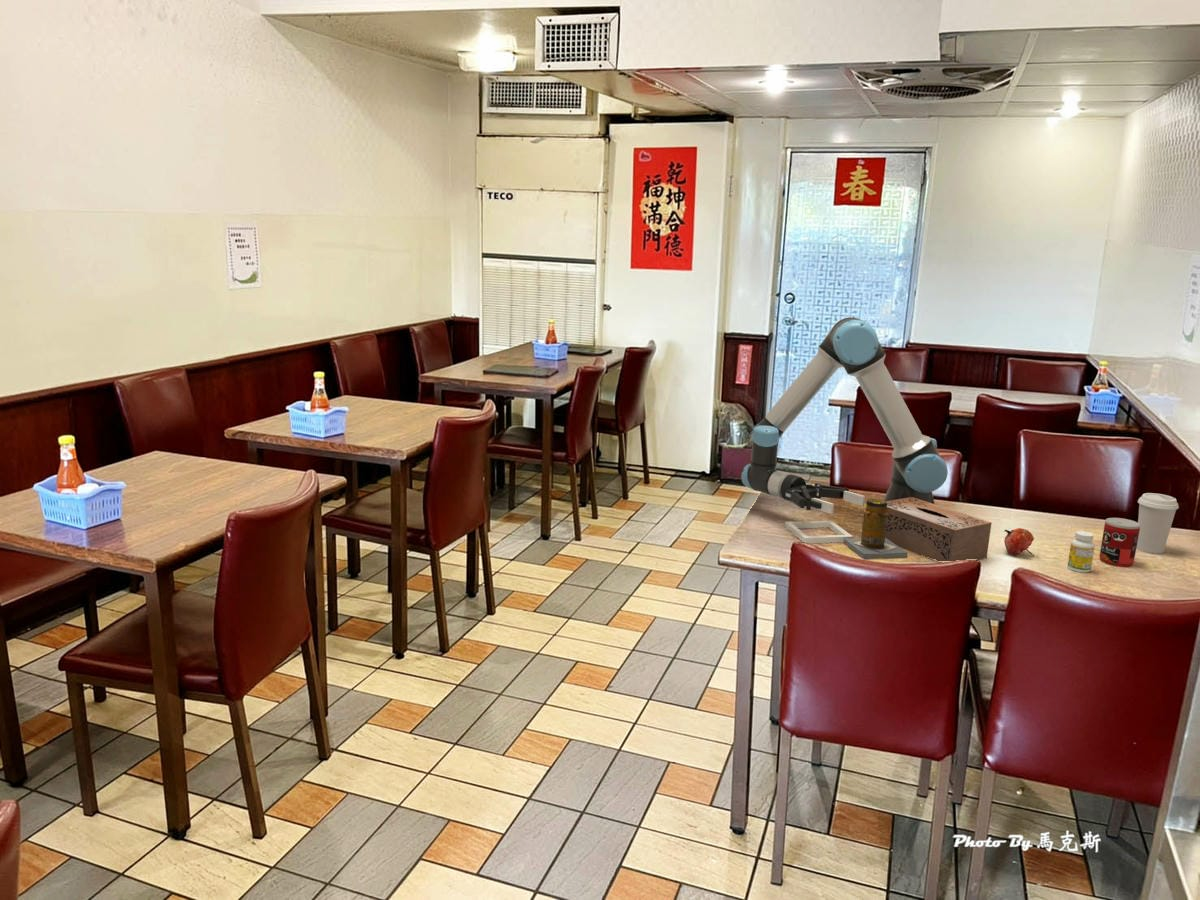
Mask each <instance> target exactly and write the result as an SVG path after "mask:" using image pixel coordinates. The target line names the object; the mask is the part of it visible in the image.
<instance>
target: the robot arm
mask: <svg viewBox="0 0 1200 900" xmlns="http://www.w3.org/2000/svg"><path fill="white" fill-rule="evenodd" d="M817 351H818V352H817V353H816V355H814V357H813V358H812V360H810V362H809V363H808V364H807V365H806V367H804V369H803V370H802V371H801V373H800V374H799V375H798V376H797V378H796V379H795V380H794V381H793V382H792V383H791V384H790V386H789V387H788V388H787V390H786V391H784V393H783V395H781V397H780V398H779V399H778V400H777V402H776V403H775V404H774V405H773V406H772V407H771V409H770V410H769V411H768V412H767V414H766V415H765V416H764V418H763V419H761V421H760V422H759V423H757V424H756V425H754V427H753V428H752V430H751V433H750V438H751V454H750V456H751V457H750V458H751V460H750V463H748V464H746V465H745V466H744V467H743V468H742V469H743V470H742V472H741V474H740V475H741V476H740V477H741V478H740V479H741V483H742V484H743V485H744V486H745V487H746V488H748V489H752V490H754V491H755V492H761V493H763V494H767V495H770V496H774V497H776V498H777V499H778V500H779V499H783V500H786V501H790V502H791V503H793V504H795V505H797V506H798V507H799V508H801V509H805V510H806V511H811V510H812V509H814V510H818V511H820V512H824V513H827V514H830V515H834V508H835V504H834V503H833V502H829V501H825V500H823V499H822V498H829V499H841V500H842V501H845V502H847V503H851V504H853V505H858V506H861V507H864V506H865V503H866V502H865V500H866V496H865V495H862V494H860V493H855V492H852V491H850V489H849V488H848V487H847V486H846V487H840V486H833V485H825V484H820V483H818V482H817V483H814V484H810V483H806V481H805V479H804V478H803V477H802V476H800V475H799V476H798V475H795V474H792V473H789V472H785V471H781V470H777V461H778V460H777V459H778V452H779V451H778V449H779V441H780V438H781V437H782V435H783V434H784V433H785V432H786V430H788V428H789V427H790V426H791V425H792V424H793V422H795V420H796V418H798V416H799V415H800V414H801V413H802V412H803V410H805V408H806V407H807V406H808V405H809V403H811V401H812V400H813V399H814V397H815V396H816V395H817V394H818V393H819V391H820V390H821V389H822V388H823V387H824V385H825V384H826V383H827V382H828V381H829V380H830V379H831V377H832V376H833V375H834V374H835V373H836V372H837V370H838V369H841V368H844V370H845V372H846V374H847V376H851V377H854V378H855V379H856V381H857V383H858V384H859V387H860V388H861V390H862V391H863V394H864V396H865V397H866V399H867V401H868V403H869V404H870V406H871V409H872V410H873V412H874V414H875V415H876V418H877V420H878V421H879V423H880V425H881V427H882V428H883V431H884V432H885V434H886V436H887V437H888V439H889V442H890V444H891V445H892V447H893V450H892V453H891V457H892V458H893V464H892V472H891V482H890V485H889V487H888V489H887V491H886V494H885V496H884V498H883V499H882V500H883V501H885V502H886V501H892V500H898V499H903V498H909V497H913V498H917V499H920V500H923V501H926V502H929V503H932V504H935V500H934V495H933V492H935V491H937V490H938V489H939V488H941V487H942V486H943V485H944V484H945V482H946V480H947V478H948V475H949V472H948V467H947V466H948V465H947V462H946V461H945V460H944V459H943V458H942V457H941V455H940V454H939V451H938V449H937V448H938V445H937V444H938V443H937V440H936V439H935V438H932V437H930V436H927V435H925V434H922V431H921V430H920V428H919V426H918V424H917V423H916V421H915V418H914V417H913V414H912V413H911V412H910V409H909V408H908V405H907V404H906V402H905V400H904V398H903V396H902V394H901V392H900V391H899V389H898V387H897V385H896V383H895V382H894V379H893V378H892V375H891V374H890V372H889V370H888V368H887V367H886V365H885V363H884V362H885V359H886V352H885V351H884V349H883V347H882V345H881V343H880V341H879V338H878V334H877V332H876V330H875V329H874V328H873V327H872V326H871V325H870V324H869V323H868V322H866V321H863V320H862V319H860V318H858V317H851V316H850V317H844V318H843V319H840V320H839V321H837V322H836V323H835V324H834V325H833V327H831V329H830V331H829V332H828V334H827V335H826V336H825V338H824V339H823V340H822V342H821V343H820V344H819V345H818V347H817ZM935 505H936V504H935ZM805 507H806V508H805Z"/></svg>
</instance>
